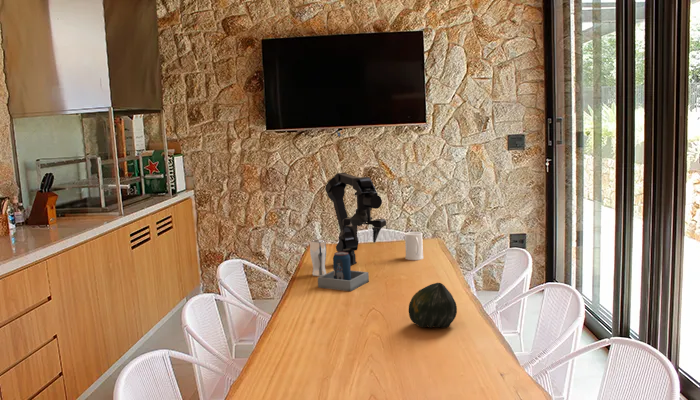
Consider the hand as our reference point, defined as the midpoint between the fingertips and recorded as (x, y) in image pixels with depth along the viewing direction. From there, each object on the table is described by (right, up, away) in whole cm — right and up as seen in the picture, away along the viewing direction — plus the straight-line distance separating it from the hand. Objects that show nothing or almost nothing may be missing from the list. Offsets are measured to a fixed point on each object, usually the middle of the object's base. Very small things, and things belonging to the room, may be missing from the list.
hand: (365, 241), depth 269 cm
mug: (+24, -10, +20) cm, 33 cm away
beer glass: (-20, -14, -1) cm, 24 cm away
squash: (+20, -22, -71) cm, 77 cm away
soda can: (-10, -15, -19) cm, 26 cm away
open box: (-9, -16, -19) cm, 26 cm away
